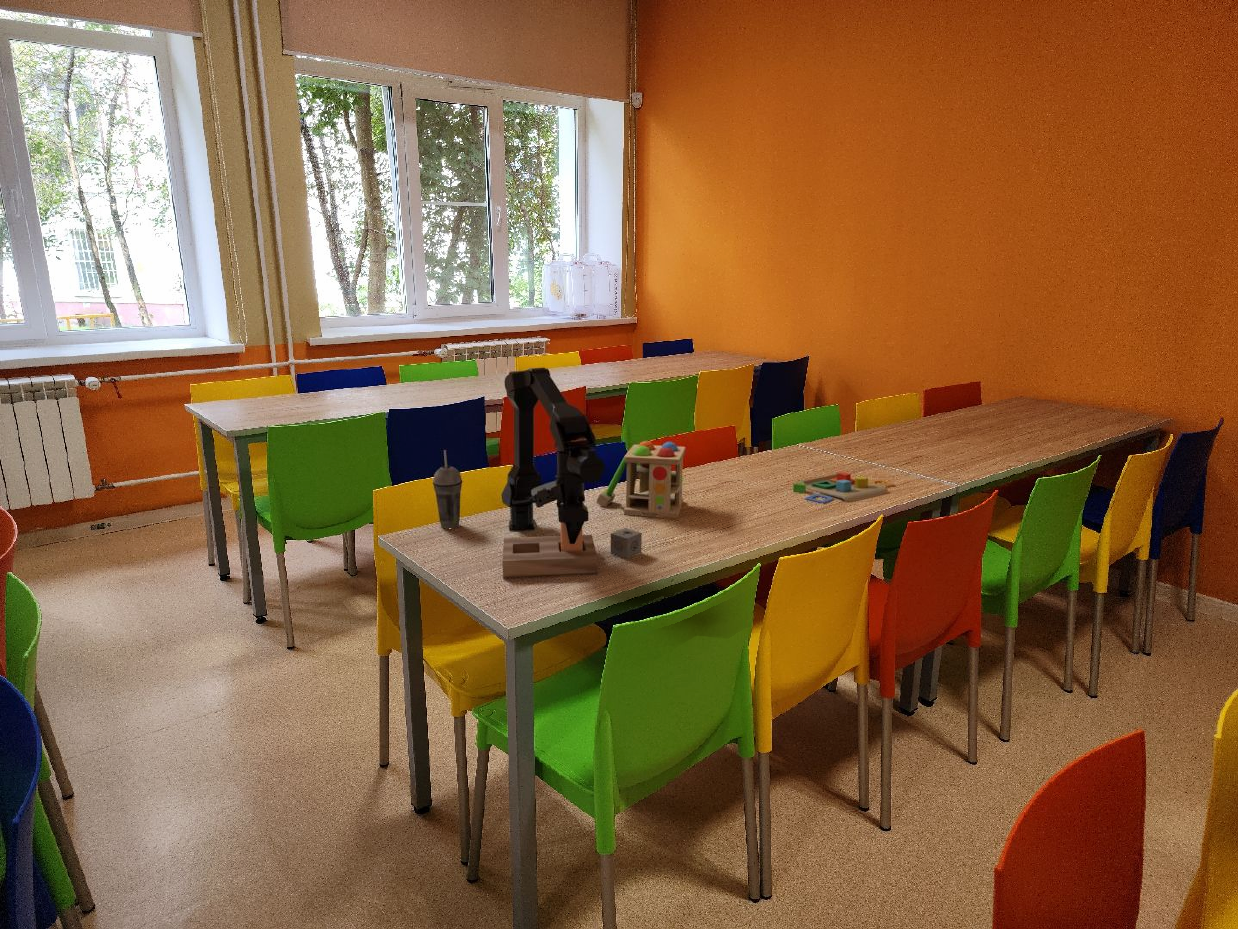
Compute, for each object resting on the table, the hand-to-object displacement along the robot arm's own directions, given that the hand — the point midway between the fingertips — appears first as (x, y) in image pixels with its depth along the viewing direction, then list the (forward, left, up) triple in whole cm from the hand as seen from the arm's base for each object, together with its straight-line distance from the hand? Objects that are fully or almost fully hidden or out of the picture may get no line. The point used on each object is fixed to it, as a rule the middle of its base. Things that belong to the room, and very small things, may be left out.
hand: (571, 539), depth 175 cm
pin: (0, 0, -3) cm, 3 cm away
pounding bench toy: (-38, +20, -6) cm, 43 cm away
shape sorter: (-48, +82, -6) cm, 95 cm away
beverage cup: (-28, -29, -6) cm, 41 cm away
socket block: (0, -5, -6) cm, 7 cm away
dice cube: (-5, +13, -6) cm, 15 cm away
